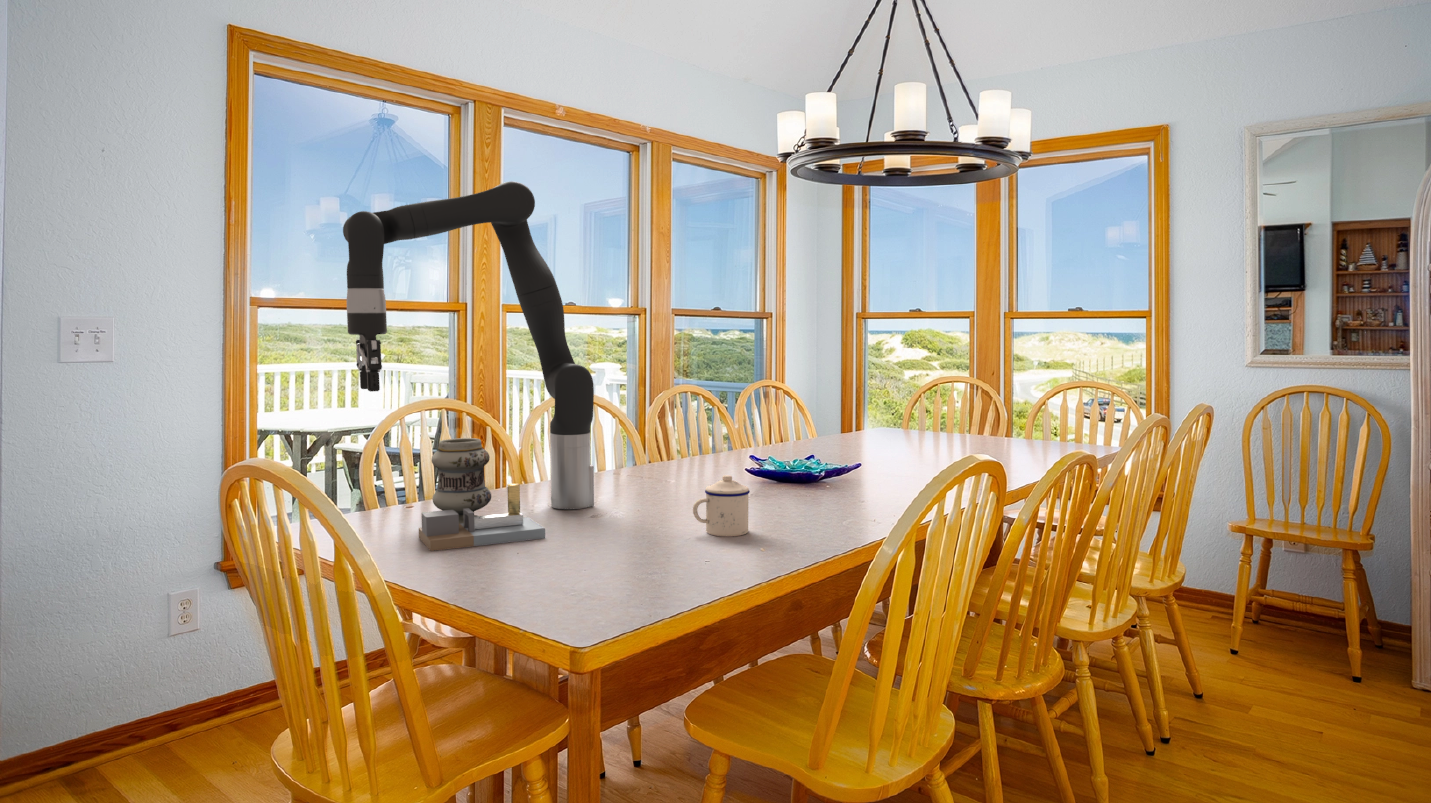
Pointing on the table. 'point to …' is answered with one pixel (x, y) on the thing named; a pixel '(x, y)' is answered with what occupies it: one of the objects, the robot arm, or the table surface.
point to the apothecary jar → (461, 475)
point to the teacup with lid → (725, 508)
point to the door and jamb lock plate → (471, 531)
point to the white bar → (504, 519)
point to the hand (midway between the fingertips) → (369, 390)
